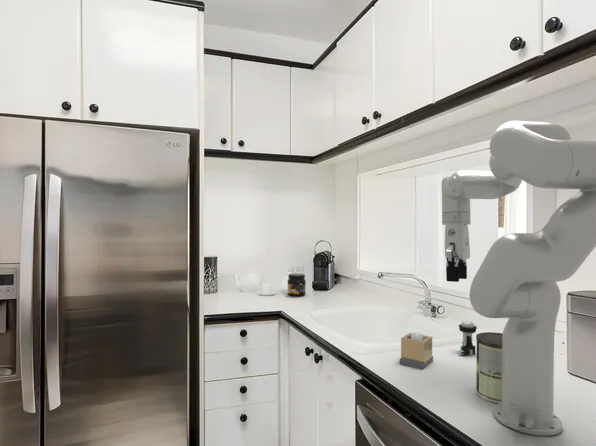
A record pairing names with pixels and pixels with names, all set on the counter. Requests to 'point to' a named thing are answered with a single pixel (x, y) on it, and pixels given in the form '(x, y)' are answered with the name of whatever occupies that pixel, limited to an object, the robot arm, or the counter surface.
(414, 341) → the collar
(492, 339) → the coffee can
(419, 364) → the piston block
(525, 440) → the counter surface
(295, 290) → the supplement container
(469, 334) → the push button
